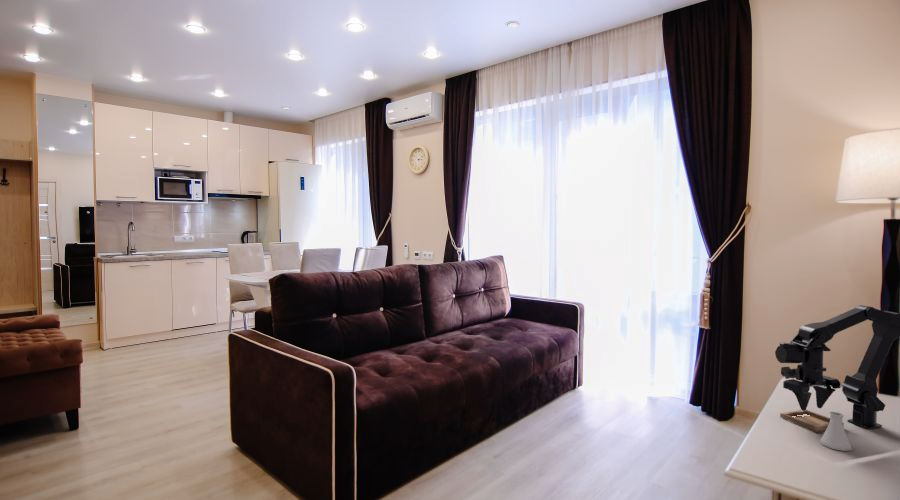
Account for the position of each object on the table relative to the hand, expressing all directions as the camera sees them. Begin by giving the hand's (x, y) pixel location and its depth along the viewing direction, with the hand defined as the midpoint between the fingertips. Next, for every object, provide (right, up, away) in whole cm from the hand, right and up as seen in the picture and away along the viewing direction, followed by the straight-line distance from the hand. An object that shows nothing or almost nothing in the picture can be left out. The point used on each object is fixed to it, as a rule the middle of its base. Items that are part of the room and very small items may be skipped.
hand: (811, 409), depth 151 cm
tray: (0, -5, 0) cm, 5 cm away
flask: (-6, -6, -16) cm, 18 cm away
